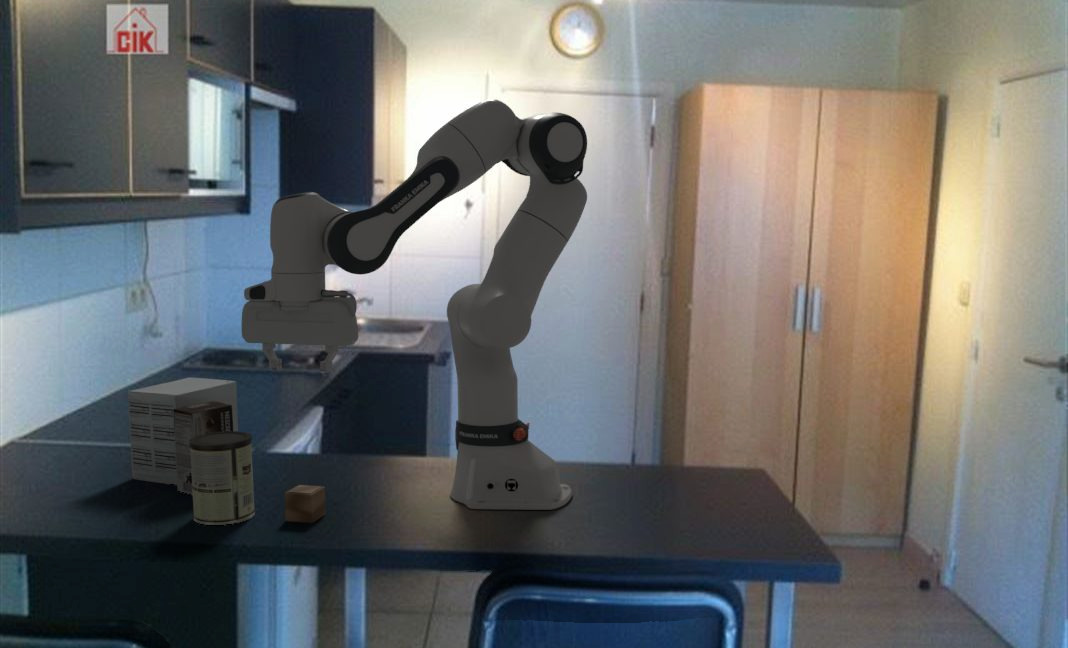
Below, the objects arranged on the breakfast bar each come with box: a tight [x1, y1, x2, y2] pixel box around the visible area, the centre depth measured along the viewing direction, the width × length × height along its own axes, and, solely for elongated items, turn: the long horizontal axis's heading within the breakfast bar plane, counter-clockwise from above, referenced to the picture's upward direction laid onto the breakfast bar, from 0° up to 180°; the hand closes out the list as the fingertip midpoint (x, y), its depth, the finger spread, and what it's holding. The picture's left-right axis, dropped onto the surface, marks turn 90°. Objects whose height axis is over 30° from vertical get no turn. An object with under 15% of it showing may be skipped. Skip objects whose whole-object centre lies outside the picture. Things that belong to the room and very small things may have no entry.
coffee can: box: [189, 430, 256, 526], centre depth 167 cm, size 10×10×14 cm
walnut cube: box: [284, 484, 327, 524], centre depth 167 cm, size 5×5×5 cm
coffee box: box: [173, 401, 233, 496], centre depth 184 cm, size 9×6×16 cm
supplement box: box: [127, 377, 239, 486], centre depth 196 cm, size 17×13×18 cm
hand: (300, 370), depth 164 cm, fingers open, 8 cm apart
